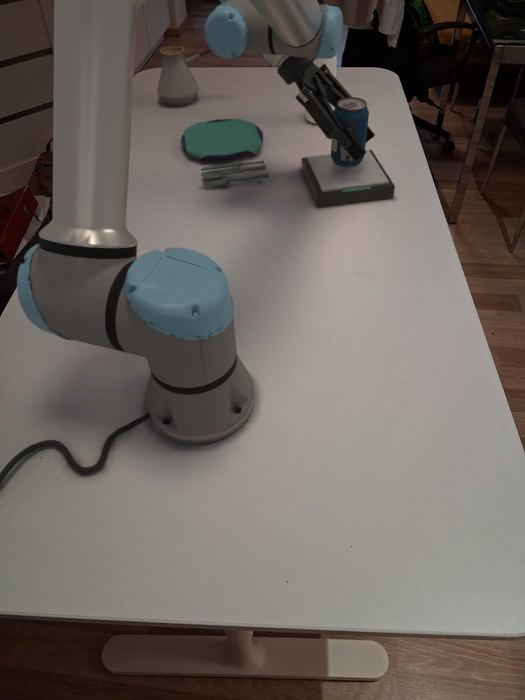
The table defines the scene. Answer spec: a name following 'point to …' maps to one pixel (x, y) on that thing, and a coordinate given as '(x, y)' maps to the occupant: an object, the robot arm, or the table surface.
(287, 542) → the table surface
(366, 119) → the soda can
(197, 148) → the cutlery set
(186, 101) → the coffee pot
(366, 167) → the scale
